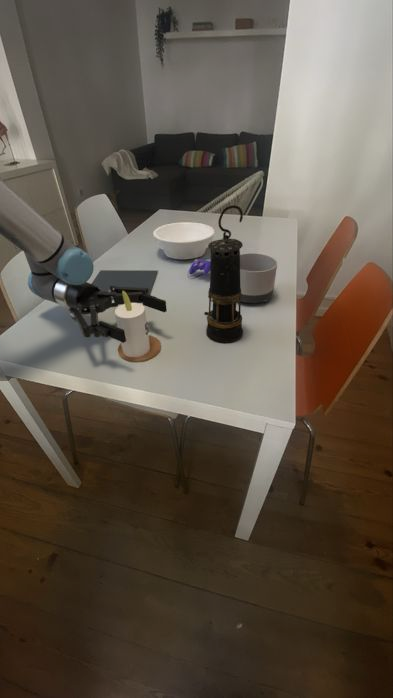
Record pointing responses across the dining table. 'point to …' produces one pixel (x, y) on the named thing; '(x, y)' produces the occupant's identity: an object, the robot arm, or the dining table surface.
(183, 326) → the dining table surface
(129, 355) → the candle
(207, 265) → the game controller
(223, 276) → the lantern
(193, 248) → the bowl
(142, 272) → the placemat
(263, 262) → the planter
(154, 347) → the coaster
